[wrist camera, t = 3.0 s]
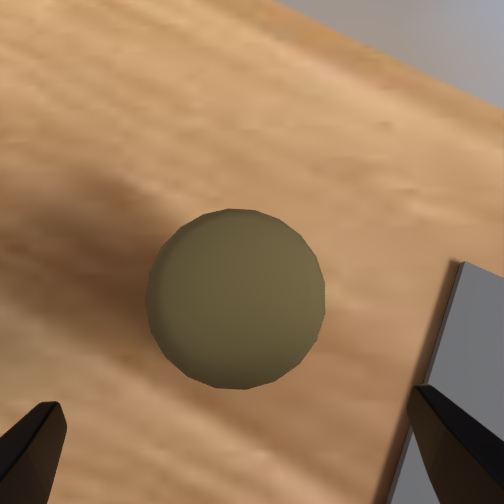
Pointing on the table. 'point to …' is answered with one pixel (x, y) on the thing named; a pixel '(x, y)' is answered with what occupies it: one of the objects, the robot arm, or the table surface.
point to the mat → (461, 371)
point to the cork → (235, 299)
